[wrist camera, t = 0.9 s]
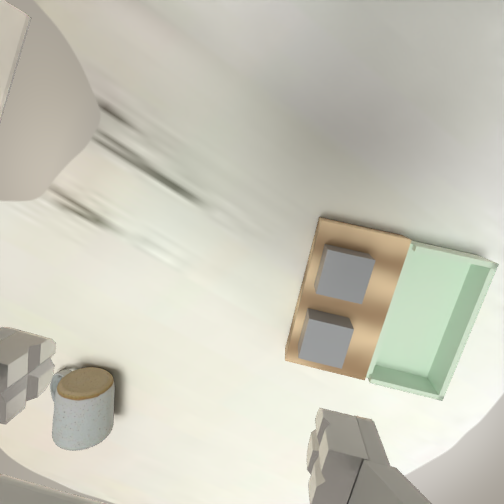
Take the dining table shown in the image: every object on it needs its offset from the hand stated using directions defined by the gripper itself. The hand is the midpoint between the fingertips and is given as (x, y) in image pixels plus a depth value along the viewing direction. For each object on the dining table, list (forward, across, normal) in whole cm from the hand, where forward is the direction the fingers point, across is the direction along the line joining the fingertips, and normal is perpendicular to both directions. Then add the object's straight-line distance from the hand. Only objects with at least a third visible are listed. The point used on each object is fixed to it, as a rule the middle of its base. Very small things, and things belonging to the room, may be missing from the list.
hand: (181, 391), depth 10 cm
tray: (+32, -21, +6) cm, 38 cm away
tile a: (+29, -10, +2) cm, 30 cm away
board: (+32, -11, +6) cm, 34 cm away
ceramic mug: (+32, +20, +29) cm, 48 cm away
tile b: (+29, -10, +10) cm, 32 cm away
